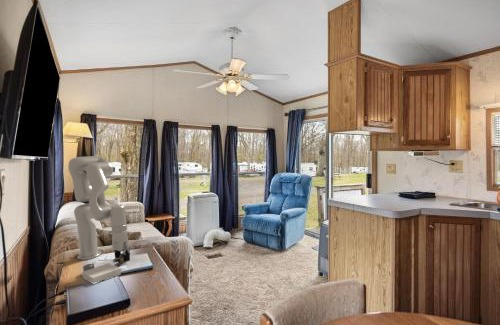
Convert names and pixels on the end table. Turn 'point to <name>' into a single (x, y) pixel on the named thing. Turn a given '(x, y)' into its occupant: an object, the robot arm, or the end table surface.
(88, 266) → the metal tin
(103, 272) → the white slab
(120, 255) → the eagle figurine
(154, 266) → the end table surface
